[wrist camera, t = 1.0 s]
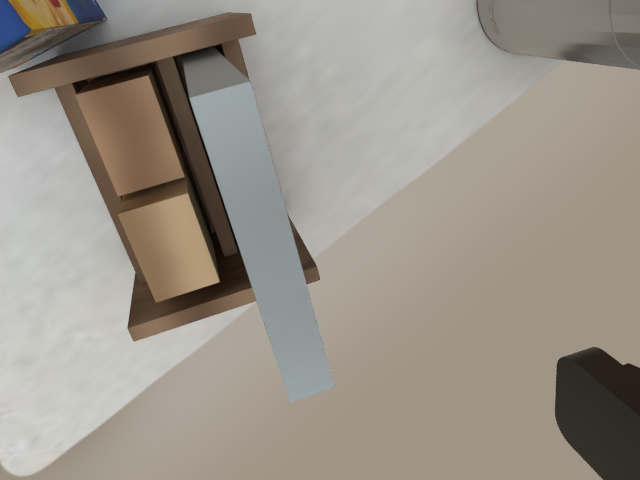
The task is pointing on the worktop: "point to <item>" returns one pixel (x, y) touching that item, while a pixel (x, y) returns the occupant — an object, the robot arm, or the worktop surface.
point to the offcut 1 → (133, 128)
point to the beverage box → (41, 26)
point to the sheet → (258, 217)
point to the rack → (166, 55)
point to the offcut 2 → (170, 236)
